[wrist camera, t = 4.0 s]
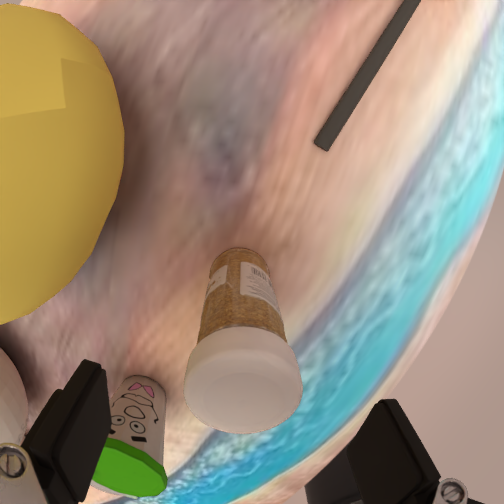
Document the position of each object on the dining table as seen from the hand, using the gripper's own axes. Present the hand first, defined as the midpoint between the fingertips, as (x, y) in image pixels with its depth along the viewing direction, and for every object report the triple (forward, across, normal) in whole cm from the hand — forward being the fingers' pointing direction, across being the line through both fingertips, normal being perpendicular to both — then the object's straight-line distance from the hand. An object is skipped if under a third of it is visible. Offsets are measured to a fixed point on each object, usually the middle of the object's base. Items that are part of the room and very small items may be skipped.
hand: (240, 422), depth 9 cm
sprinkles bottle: (+15, 0, 0) cm, 15 cm away
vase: (+15, +16, -6) cm, 23 cm away
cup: (+15, +7, +14) cm, 22 cm away
